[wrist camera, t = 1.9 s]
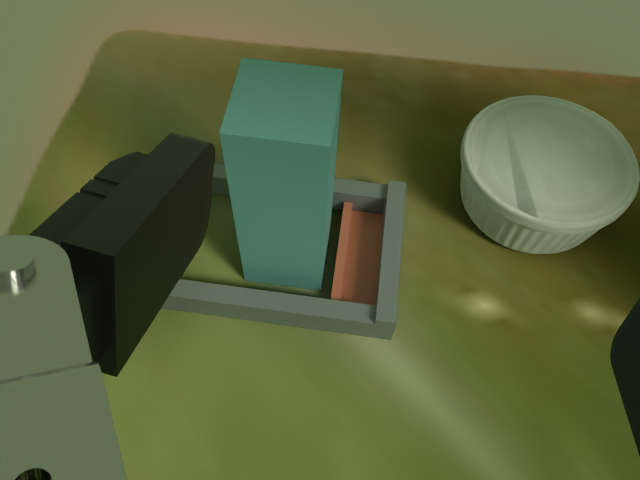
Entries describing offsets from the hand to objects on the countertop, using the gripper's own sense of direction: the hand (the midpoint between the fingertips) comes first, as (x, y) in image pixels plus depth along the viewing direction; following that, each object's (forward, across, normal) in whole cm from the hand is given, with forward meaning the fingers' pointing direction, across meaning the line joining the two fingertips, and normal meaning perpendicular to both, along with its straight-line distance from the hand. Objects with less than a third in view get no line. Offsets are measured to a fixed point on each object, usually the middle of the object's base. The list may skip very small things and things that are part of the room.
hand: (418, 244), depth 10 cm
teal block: (+22, +5, +18) cm, 29 cm away
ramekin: (+30, -10, +14) cm, 34 cm away
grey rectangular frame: (+22, +8, +18) cm, 29 cm away
